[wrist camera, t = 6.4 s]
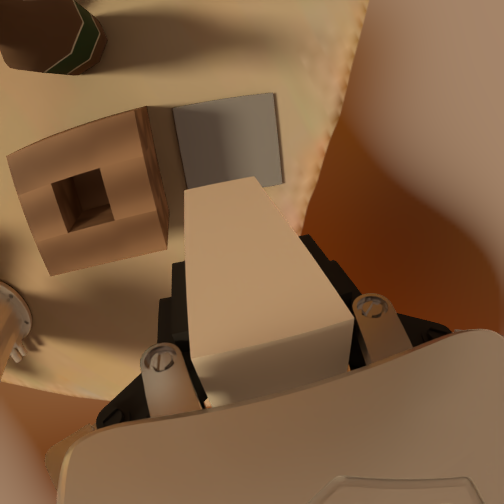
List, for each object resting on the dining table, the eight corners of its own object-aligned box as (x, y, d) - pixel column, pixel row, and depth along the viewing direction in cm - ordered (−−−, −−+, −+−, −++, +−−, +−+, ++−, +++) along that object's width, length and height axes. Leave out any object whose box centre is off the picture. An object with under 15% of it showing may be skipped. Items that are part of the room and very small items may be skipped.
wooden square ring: (169, 212, 39) (167, 249, 31) (73, 236, 38) (50, 276, 29) (146, 105, 32) (134, 110, 24) (43, 138, 30) (6, 156, 22)
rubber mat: (281, 182, 41) (282, 184, 40) (190, 200, 39) (190, 201, 39) (271, 92, 35) (272, 92, 34) (172, 108, 33) (172, 108, 33)
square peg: (262, 237, 20) (341, 401, 9) (198, 251, 19) (224, 432, 9) (254, 176, 17) (354, 317, 7) (184, 190, 17) (190, 358, 7)
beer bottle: (51, 27, 24) (-72, -13, 3) (110, 11, 25) (26, -72, 5) (51, 83, 27) (-84, 97, 7) (109, 69, 29) (7, 46, 8)
